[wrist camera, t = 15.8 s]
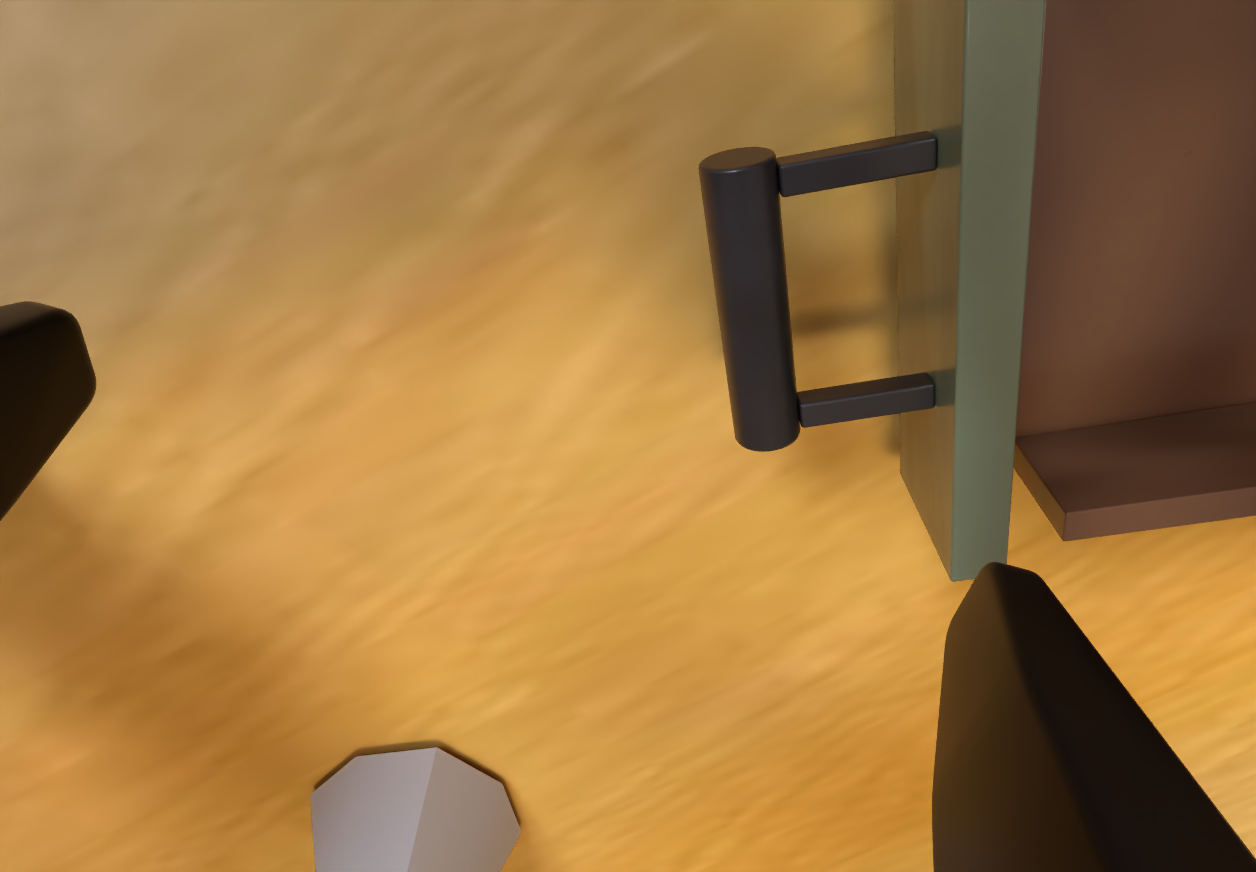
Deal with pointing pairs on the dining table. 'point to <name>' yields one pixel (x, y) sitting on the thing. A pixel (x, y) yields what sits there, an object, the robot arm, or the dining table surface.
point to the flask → (411, 816)
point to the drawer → (1035, 268)
